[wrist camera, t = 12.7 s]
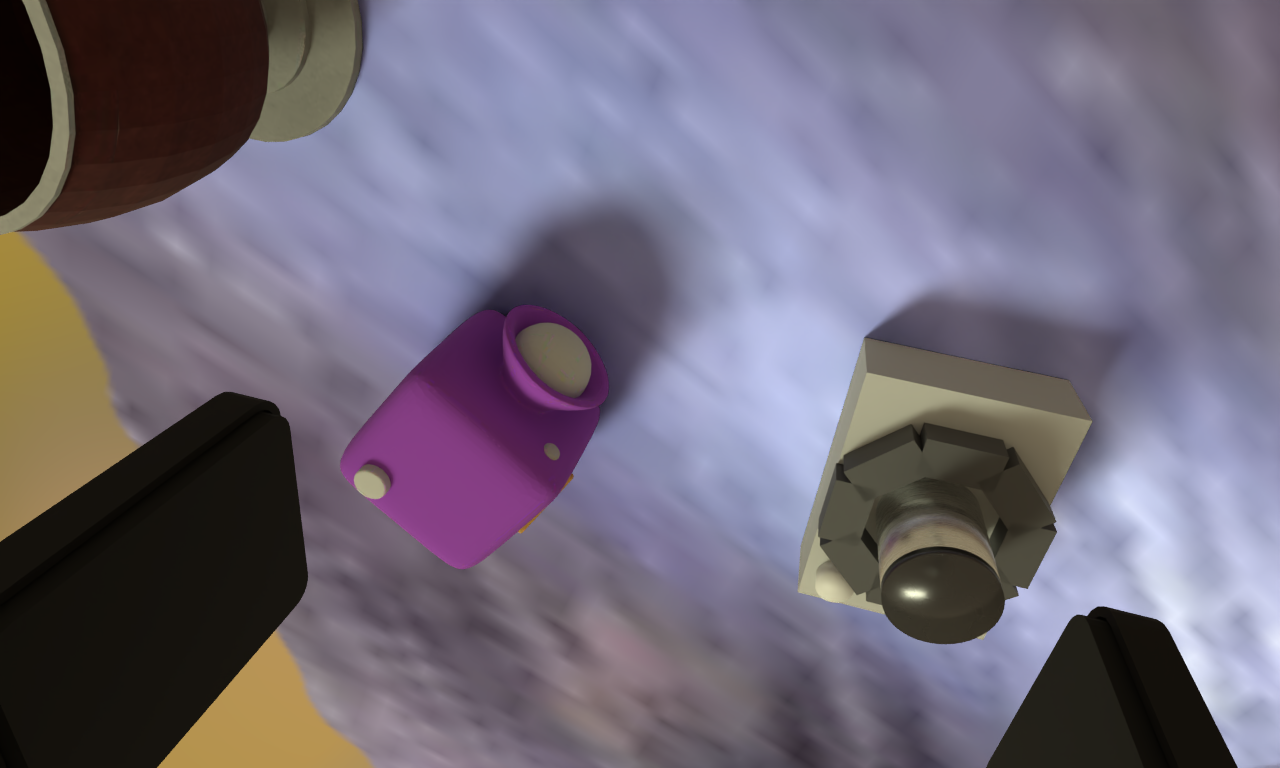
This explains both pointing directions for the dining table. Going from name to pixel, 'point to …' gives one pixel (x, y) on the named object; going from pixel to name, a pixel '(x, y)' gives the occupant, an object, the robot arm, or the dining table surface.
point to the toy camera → (481, 432)
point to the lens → (937, 563)
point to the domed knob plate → (940, 462)
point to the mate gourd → (156, 95)
